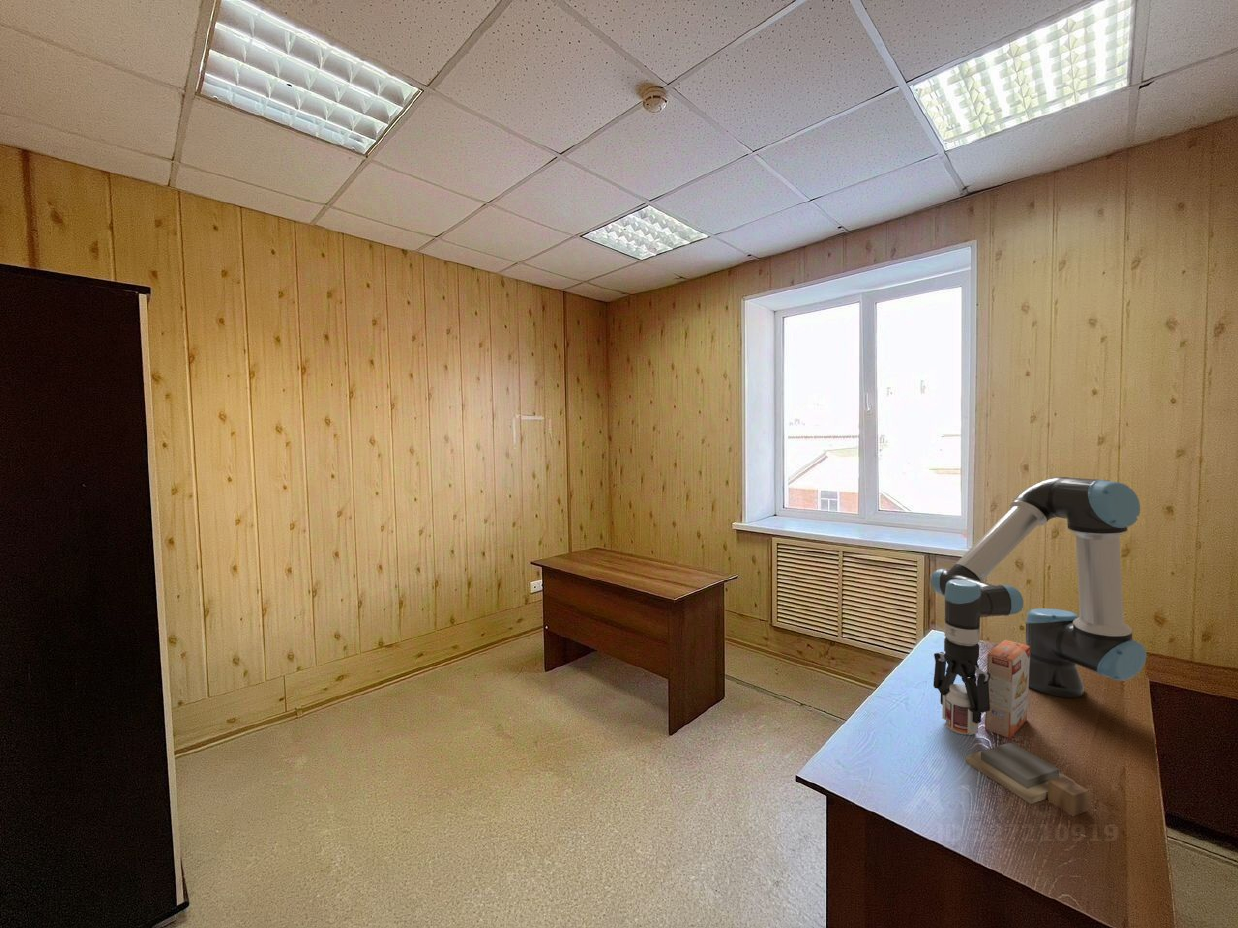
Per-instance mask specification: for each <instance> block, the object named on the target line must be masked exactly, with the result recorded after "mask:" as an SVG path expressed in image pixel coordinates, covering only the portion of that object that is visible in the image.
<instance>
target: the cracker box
mask: <svg viewBox="0 0 1238 928" xmlns="http://www.w3.org/2000/svg"><path fill="white" fill-rule="evenodd" d="M986 662H987V664H986V672H988V673H989V674H990V675H991V677H990V679H989V699H990V711H987V712H984V713H985V716H984V720H985V721H984V729H985V730H986V731H989V732H992V733H993V734H997V735H999V736H1001V737H1004V738H1006V739H1008V740H1010V739H1012V737H1013V736H1014V735H1015V734H1016V733H1017V731H1018V730H1019V729H1020V728H1021V727H1022V726H1023V725H1024V724H1025V723H1026V721H1027V720H1028V707H1029V706H1028V704H1029V688H1030V687H1029V665H1030V646H1027V645H1026V644H1023V643H1019V642H1015V641H1013V640H1009V639H1004V640H1003V641H1002V642H1000V643H999V644H998V645H997V646H995V647H994V648H992V650H990V651H989V652H988V653H987V661H986Z"/></svg>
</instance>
